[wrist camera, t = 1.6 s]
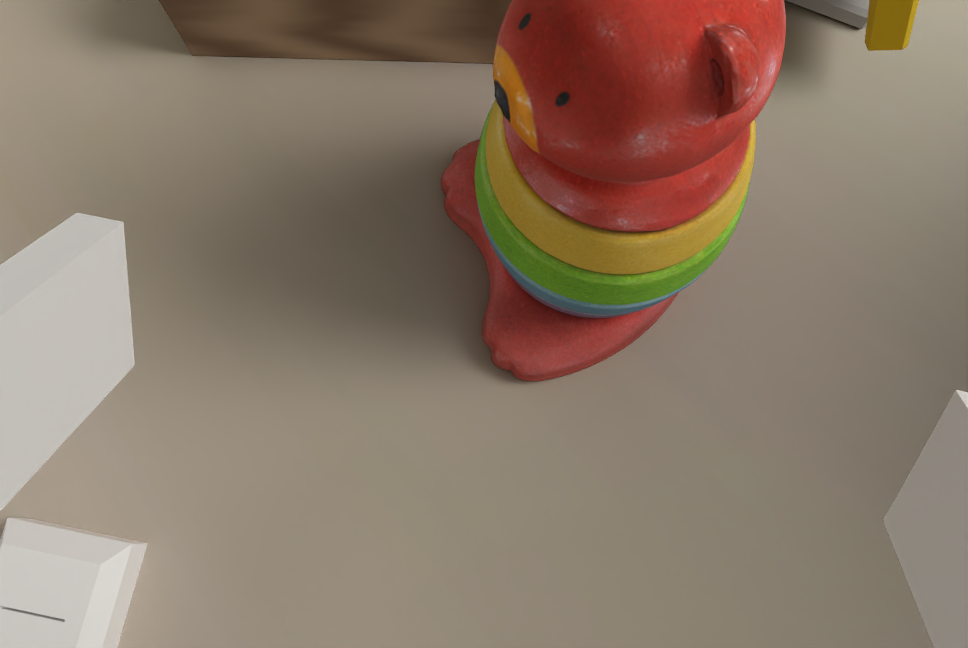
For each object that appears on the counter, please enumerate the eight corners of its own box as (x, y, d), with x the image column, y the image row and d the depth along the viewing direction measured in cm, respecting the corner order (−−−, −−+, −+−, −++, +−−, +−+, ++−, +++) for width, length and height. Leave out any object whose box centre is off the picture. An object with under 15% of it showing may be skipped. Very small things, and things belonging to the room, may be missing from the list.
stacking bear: (430, 161, 36) (383, -174, 19) (648, 104, 37) (794, -270, 20) (498, 394, 34) (516, 254, 16) (731, 329, 34) (981, 127, 17)
